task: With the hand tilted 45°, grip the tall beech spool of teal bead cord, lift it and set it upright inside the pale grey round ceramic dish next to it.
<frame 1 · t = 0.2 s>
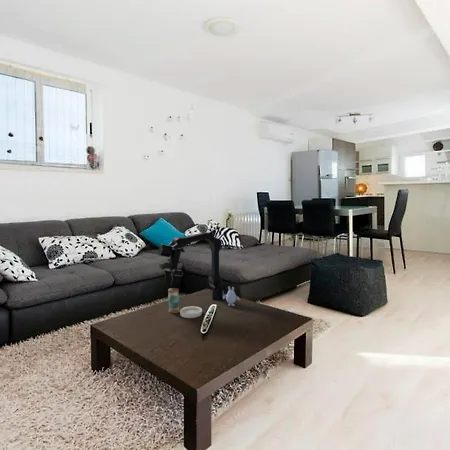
hand: (169, 284, 204), 15 cm above the table, tool tilted 15°, fingers open, 9 cm apart
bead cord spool: (174, 311, 202), on the table
ceramic dish: (191, 313, 198), on the table
toy figure: (231, 306, 210), on the table
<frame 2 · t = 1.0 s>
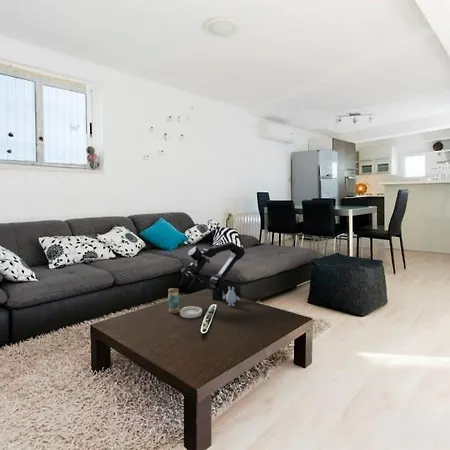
hand: (184, 286, 206), 13 cm above the table, tool tilted 45°, fingers open, 9 cm apart
nothing on the table moved.
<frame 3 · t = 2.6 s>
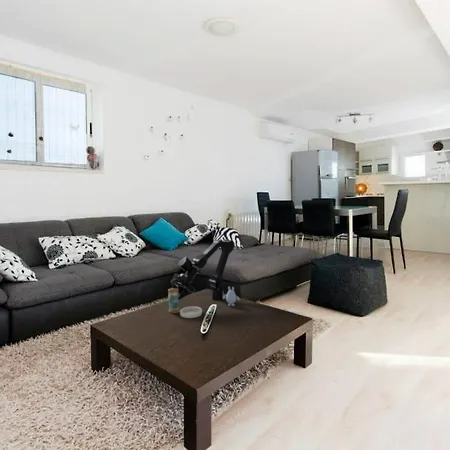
hand: (174, 297, 202), 8 cm above the table, tool tilted 45°, fingers open, 9 cm apart
nothing on the table moved.
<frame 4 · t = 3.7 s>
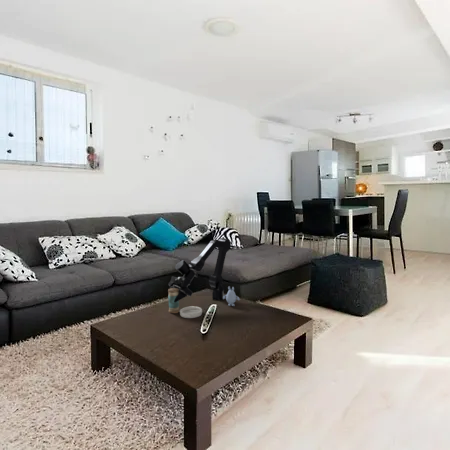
hand: (171, 300, 201), 7 cm above the table, tool tilted 45°, fingers closed on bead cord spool, 6 cm apart
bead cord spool: (174, 311, 202), on the table, touching gripper
everything else where it was.
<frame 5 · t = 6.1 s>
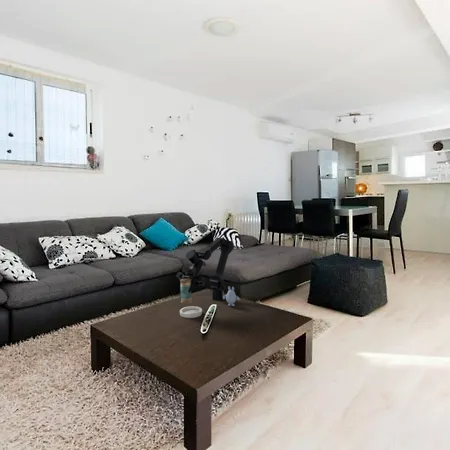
hand: (184, 291, 196), 13 cm above the table, tool tilted 45°, fingers closed on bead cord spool, 6 cm apart
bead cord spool: (186, 302, 198), point 7 cm above the table, touching gripper
everything else where it was.
when the fingers open (9 cm above the table, at t = 8.3 s): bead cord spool drops 1 cm, resting on ceramic dish.
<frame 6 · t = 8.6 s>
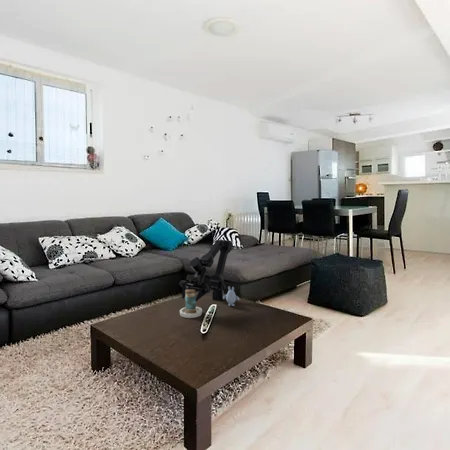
hand: (189, 299, 195), 9 cm above the table, tool tilted 45°, fingers open, 9 cm apart
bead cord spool: (191, 312, 198), point 1 cm above the table, touching ceramic dish
everything else where it was.
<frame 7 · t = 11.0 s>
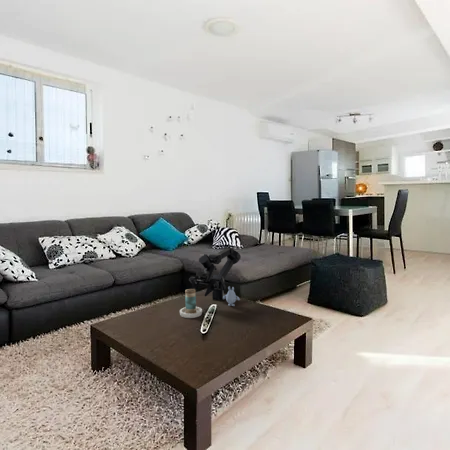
hand: (198, 295, 204), 9 cm above the table, tool tilted 45°, fingers open, 9 cm apart
nothing on the table moved.
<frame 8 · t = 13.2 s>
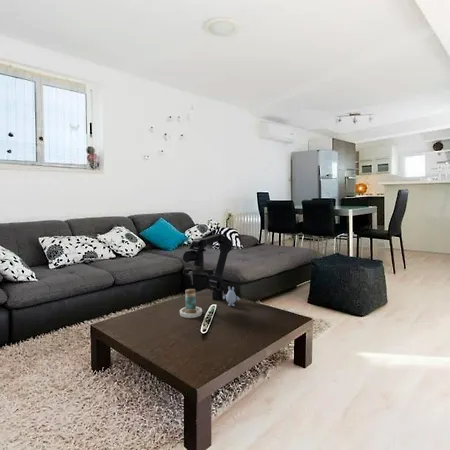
hand: (199, 284, 210), 13 cm above the table, tool pointing down, fingers open, 9 cm apart
nothing on the table moved.
at the end: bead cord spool 0.0 cm off-centre on the ceramic dish, point 0.8 cm above the ceramic dish's base; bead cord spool tilted 0°; the gripper is holding nothing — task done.
